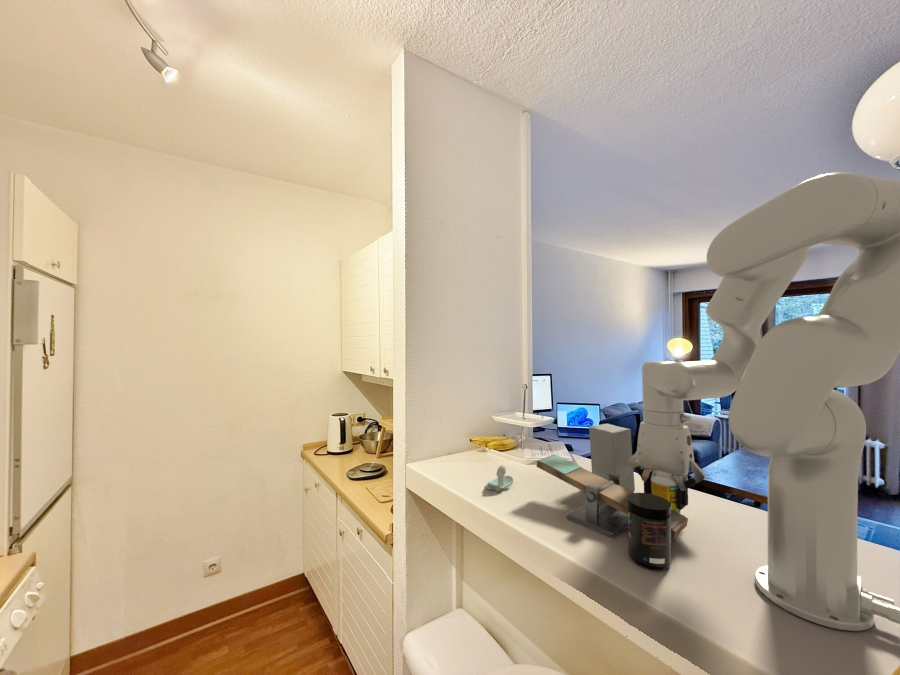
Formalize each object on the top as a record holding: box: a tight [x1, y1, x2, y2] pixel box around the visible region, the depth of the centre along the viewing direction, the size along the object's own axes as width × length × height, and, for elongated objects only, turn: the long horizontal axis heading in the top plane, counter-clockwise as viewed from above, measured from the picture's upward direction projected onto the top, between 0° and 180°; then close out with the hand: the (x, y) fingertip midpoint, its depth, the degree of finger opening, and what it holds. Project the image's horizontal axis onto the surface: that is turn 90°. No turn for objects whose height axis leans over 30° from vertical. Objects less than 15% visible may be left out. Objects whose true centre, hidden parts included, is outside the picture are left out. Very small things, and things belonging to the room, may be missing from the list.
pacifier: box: [484, 464, 514, 492], centre depth 96 cm, size 7×6×6 cm
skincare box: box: [588, 423, 636, 493], centre depth 95 cm, size 8×7×16 cm
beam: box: [536, 454, 689, 540], centre depth 80 cm, size 30×9×2 cm, turn 41°
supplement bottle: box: [651, 470, 681, 514], centre depth 79 cm, size 5×5×10 cm
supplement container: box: [627, 492, 672, 571], centre depth 65 cm, size 7×7×10 cm
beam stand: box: [566, 473, 628, 539], centre depth 80 cm, size 10×13×8 cm
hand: (665, 502), depth 79 cm, fingers closed on supplement bottle, 5 cm apart
